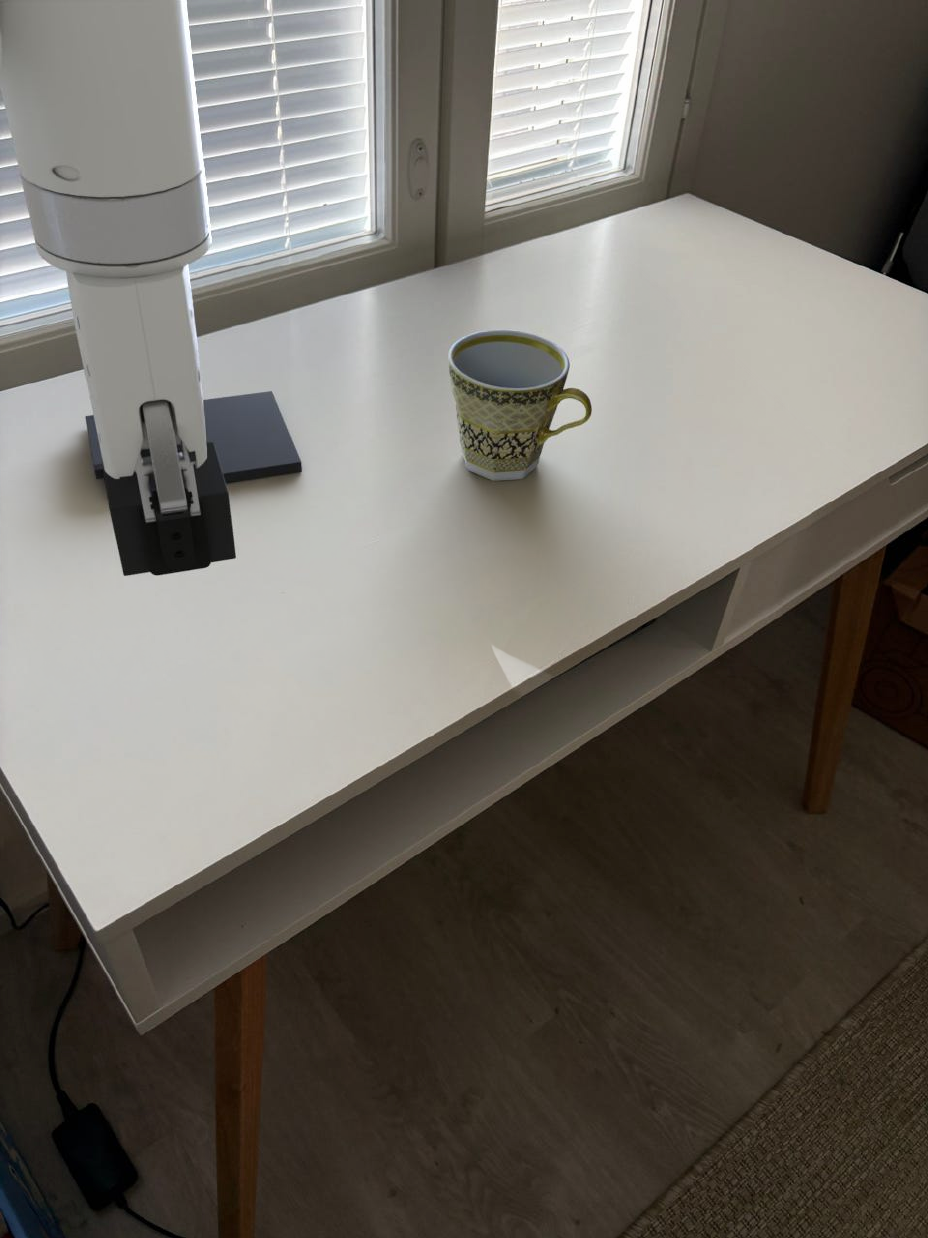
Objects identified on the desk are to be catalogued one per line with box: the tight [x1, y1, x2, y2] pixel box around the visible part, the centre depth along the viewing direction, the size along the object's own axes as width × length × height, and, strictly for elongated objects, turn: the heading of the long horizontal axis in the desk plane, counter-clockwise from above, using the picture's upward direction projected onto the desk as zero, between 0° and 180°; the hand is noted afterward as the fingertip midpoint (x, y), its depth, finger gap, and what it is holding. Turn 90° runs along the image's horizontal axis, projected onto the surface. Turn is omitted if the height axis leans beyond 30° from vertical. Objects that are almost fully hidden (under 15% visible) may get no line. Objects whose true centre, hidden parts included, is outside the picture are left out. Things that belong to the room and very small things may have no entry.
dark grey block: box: [102, 442, 237, 577], centre depth 55 cm, size 6×5×4 cm
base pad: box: [84, 390, 303, 499], centre depth 88 cm, size 17×12×2 cm
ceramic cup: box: [447, 329, 593, 482], centre depth 86 cm, size 13×10×10 cm
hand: (173, 533), depth 56 cm, fingers closed on dark grey block, 5 cm apart
